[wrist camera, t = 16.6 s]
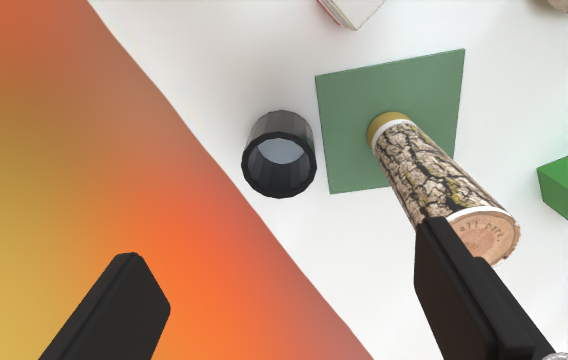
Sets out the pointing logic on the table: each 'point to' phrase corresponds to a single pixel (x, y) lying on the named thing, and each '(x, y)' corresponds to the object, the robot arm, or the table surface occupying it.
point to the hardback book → (555, 185)
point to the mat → (381, 99)
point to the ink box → (350, 11)
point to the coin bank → (559, 5)
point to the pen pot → (276, 176)
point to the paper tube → (440, 188)
